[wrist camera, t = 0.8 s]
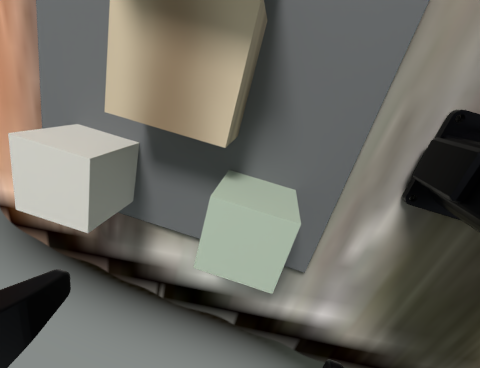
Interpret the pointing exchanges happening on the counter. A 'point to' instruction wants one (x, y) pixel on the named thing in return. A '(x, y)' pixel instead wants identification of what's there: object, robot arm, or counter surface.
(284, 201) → the sage cube
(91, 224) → the cream cube
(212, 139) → the oak base block
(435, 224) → the counter surface
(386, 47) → the mat
